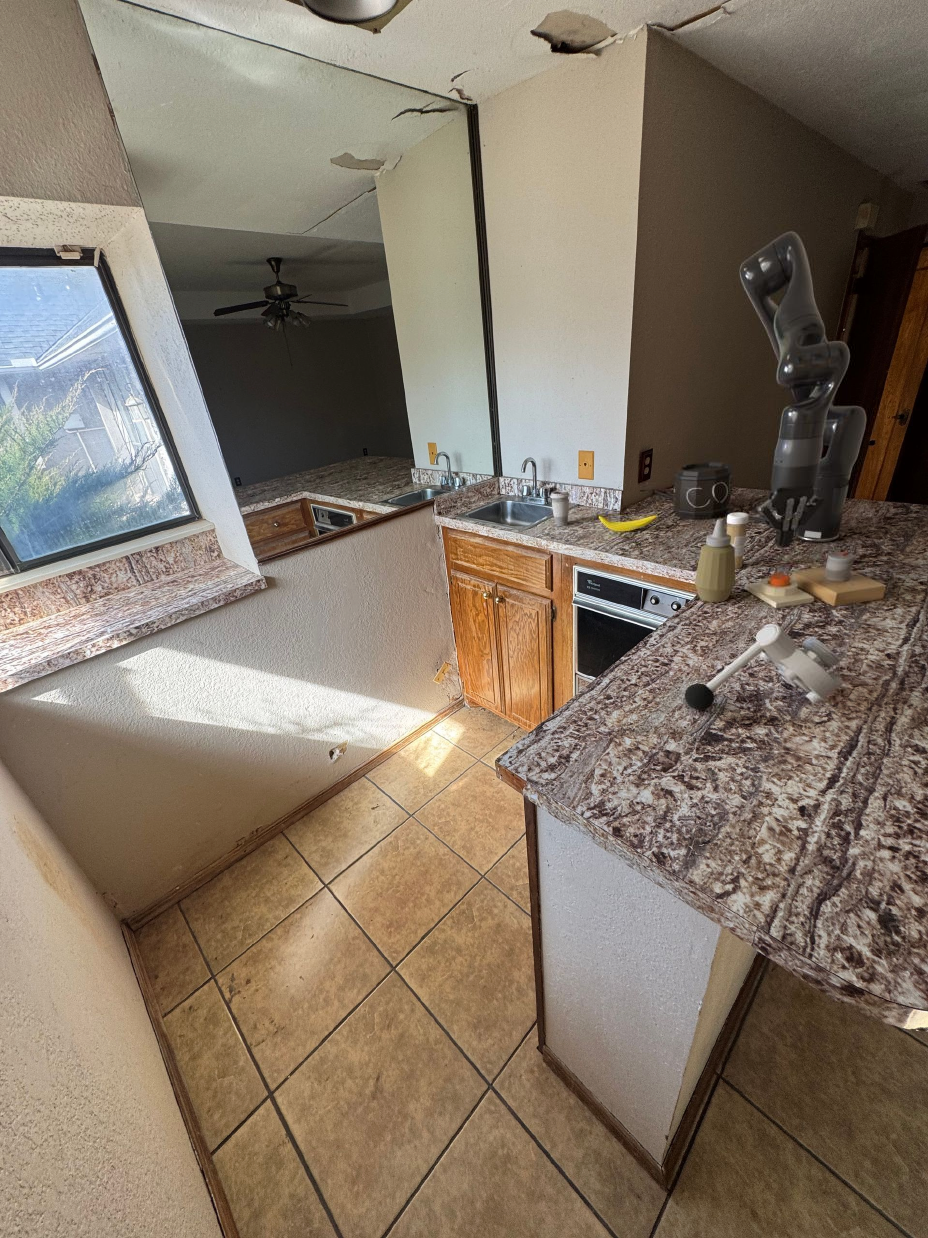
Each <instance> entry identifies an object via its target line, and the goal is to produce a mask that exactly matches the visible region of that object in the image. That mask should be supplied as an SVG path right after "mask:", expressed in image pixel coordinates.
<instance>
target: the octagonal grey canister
mask: <svg viewBox="0 0 928 1238" xmlns="http://www.w3.org/2000/svg"><path fill="white" fill-rule="evenodd" d="M734 473H735V469H734V468H732V464H730V463H728V462H724V461H702V462H691V463H688V464H684V465H681V466H680V467H679V468H678V469H677V471H676V473H675V474H674V475H673V477H674V478H675V481H674V486H673V497H674V499H673V502H674V504H673V507H672V510H673V511H675V515H676V516H678V517H679V518H681V519H688V520H694V521H695V520H712V519H715V518H719V517H723V516H725V514H724V513H725V512H728V510H729V509H730V507H731V506H732V504H731V503H730V501H731V497H732V491H733V474H734Z"/></svg>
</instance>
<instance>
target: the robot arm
mask: <svg viewBox="0 0 928 1238" xmlns="http://www.w3.org/2000/svg"><path fill="white" fill-rule="evenodd" d="M739 277H740V281H741V284H742V286H743V289H744V291H745V294H747V296H748V299H749V301H750V303H751V304H752V306H753V308H754V311H755V312H756V314H757V316H758V318H759V320H760V321H761V323H762V324H763V327H764V329H765V331H766V334H767V336H768V339H769V341H770V344H771V346H772V349H773V351H774V354H775V357H776V359H777V362H778V363H777V367H776V368H777V369H776V373H775V374H776V377H775V378H776V382H777V384H778V385H779V386H780V387H781V388H782V389H784V390H786V391H787V390H788V391H791V393H792V395H793V398H794V401H795V402H793V403H792V404H791V403H790V404H789V405H787V406H786V407H784V408H783V411H782V413H781V418H780V425H779V426H780V427H779V431H778V439H777V443H776V446H775V450H774V457H773V464H772V470H771V471H772V472H771V479H770V487H771V490H770V492H769V494H768V496H767V500H766V501H764V502H763V503H762V504H757V505H755V511H756V512H757V513H758V515H759V516H760V518H759V517H756V516H755V517H754V516H750V515H749V518H748V520H751V521H754V522H755V521H757V522H759V523H763V524H766V526H767V527H769V528H772V529H775V530H776V531H775V536H774V544H775V545H776V546H777V547H778V548H780V549H785V548H789V547H791V545H792V544H793V541H794V535H795V537H796V539H798V540H800V541H803V542H809V543H831V542H834V541H837V540H838V539H839V535H840V529H841V524H842V519H843V514H844V509H845V504H846V499H847V495H848V490H849V484H850V480H851V474H852V470H853V466H854V465H855V463H856V461H857V459H858V456H859V453H860V448H861V445H862V441H863V437H864V434H865V431H866V425H867V414H866V411H865V409H864V407H861V406H858V405H833V404H832V402H833V400H834V397H835V395H836V393H837V391H838V388H839V387H840V385H841V382H842V381H843V378H844V376H845V375H846V372H847V370H848V367H849V364H850V359H851V353H850V349H849V347H848V345H847V344H846V343H845V342H844V341H842V340H832V341H831V340H830V341H828V339H827V336H826V328H825V324H824V321H823V319H822V317H821V313H820V311H819V308H818V306H817V303H816V299H815V296H814V295H815V294H814V293H815V292H814V285H813V277H812V272H811V267H810V261H809V258H808V254H807V251H806V248H805V245H804V243H803V241H802V239H801V237H800V236H799V234H797V232H795V231H793V230H791V231H787V232H784V233H783V234H780V235H779V236H777V237H776V238H775V239H773V240H772V241H771V242H769V243H767V244H766V245H765V246H764V247H762V248H761V249H759V250H758V251H756V252H755V253H754V254H752V255H751V256H750V257H748V258H746V260H744V261H743V262H742V263H741V265H740V267H739ZM785 288H786V289H785ZM783 289H785V292H784V294H783V296H782V297H781V300H780V302H779V304H778V305H777V304H776V303H775V302H774V300H773V299H771V297H773V296H774V295H776V294H777V293H779V292H780V291H782V290H783ZM823 446H826V447H827V446H828V449H827V452H826V454H825V456H824V457H822V455H823ZM657 491H658V490H656V491H655V492H654V493H655V494H658V495H661V496H663V497H665V498H669V499H671V500H674V496H673V495H669V494H666V493H665V492H664V493H663V492H661V491H659V492H657ZM773 512H774V514H773ZM731 513H732V512H729V511H727V512H725V513H724V516H725V515H726V516H728V514H731Z"/></svg>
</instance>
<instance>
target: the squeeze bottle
mask: <svg viewBox="0 0 928 1238" xmlns="http://www.w3.org/2000/svg"><path fill="white" fill-rule="evenodd" d="M730 543H731V536H730V535H728V534H727V532H726V527H725V521H724V518H718V519H716V522H715V525H714V529H713V531H712V533H711V534H708V535H707V536H706V542H705V544H704V545H703V546H701V547H700V553H699V558H698V563H697V569H696V574H695V579H694V585H695V589H696V591H697V595H698V598H699V599H701V600H702V601H705V602H708V603H720V602H721V603H722V602H724V601H725V602H726V601H727V600H728V599H729V597H730V595H731V593H732V591H733V590H734V587H735V585H736V568H735V548H734V547H733V546H732V545H731V544H730Z"/></svg>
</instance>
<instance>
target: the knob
mask: <svg viewBox="0 0 928 1238" xmlns="http://www.w3.org/2000/svg"><path fill="white" fill-rule="evenodd" d="M855 556H856V555H854V554H853V553H851V552H850V551H848V550H847V551H835V552H830V553H828V555H827V559H826V564H825V566H826V569H825V574H824V578H825V579H827V580H830V581H835V582H844V581H848V580H849V579H850V576H851V571H853V566H854V562H855Z"/></svg>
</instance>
